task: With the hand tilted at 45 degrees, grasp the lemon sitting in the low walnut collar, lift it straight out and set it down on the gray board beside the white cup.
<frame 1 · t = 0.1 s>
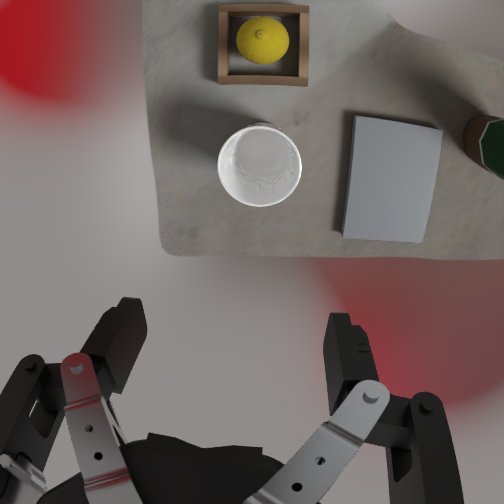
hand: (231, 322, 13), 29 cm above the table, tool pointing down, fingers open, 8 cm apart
beer bottle: (481, 139, 34), on the table
walnut collar: (264, 45, 31), on the table
white cup: (263, 148, 38), on the table
gray board: (391, 180, 38), on the table
lemon: (264, 45, 32), resting in walnut collar
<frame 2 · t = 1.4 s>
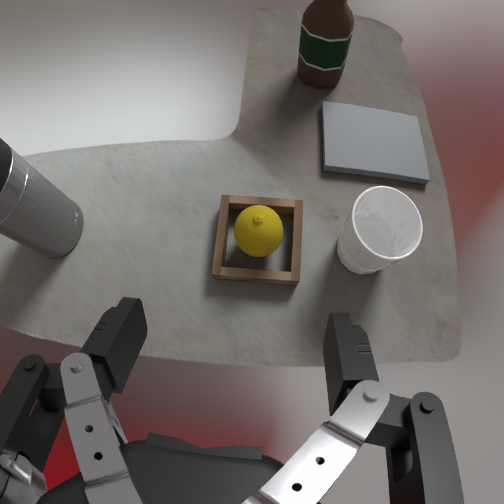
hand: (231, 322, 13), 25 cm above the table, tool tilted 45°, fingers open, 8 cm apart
beer bottle: (319, 75, 48), on the table
walnut collar: (259, 242, 40), on the table
white cup: (361, 249, 39), on the table
gray board: (373, 143, 43), on the table
lemon: (259, 242, 40), resting in walnut collar
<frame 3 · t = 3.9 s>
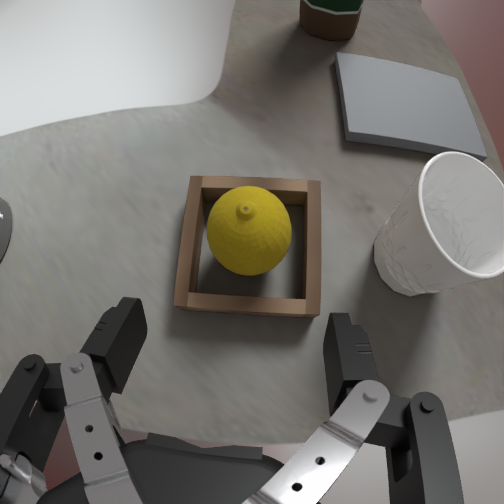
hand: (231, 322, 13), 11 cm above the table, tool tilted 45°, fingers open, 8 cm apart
beer bottle: (327, 27, 33), on the table
walnut collar: (251, 249, 25), on the table
white cup: (408, 257, 24), on the table
gray board: (409, 107, 29), on the table
lemon: (251, 250, 25), resting in walnut collar
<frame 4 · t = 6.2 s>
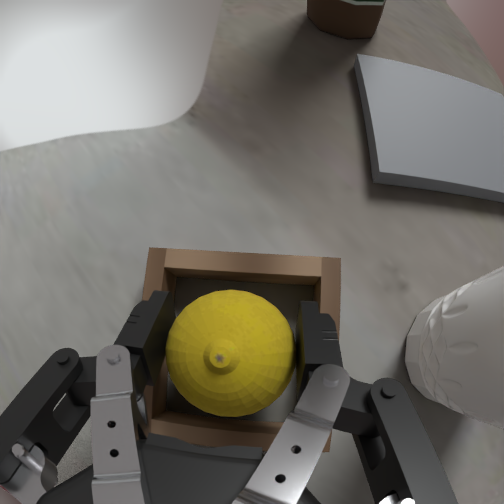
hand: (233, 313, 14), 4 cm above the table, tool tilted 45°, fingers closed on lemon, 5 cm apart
beer bottle: (342, 22, 25), on the table
walnut collar: (239, 351, 17), on the table
white cup: (446, 349, 17), on the table
gray board: (451, 131, 21), on the table
lemon: (239, 351, 17), resting in walnut collar, touching gripper
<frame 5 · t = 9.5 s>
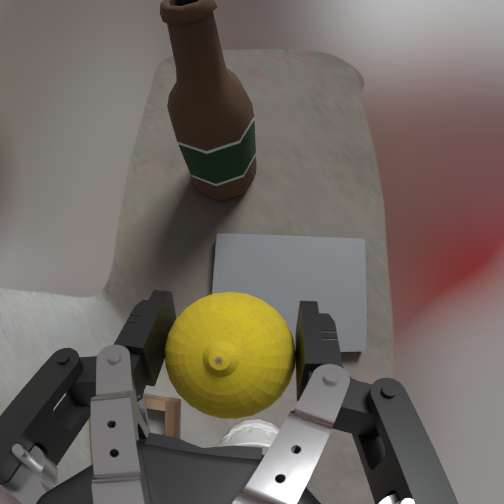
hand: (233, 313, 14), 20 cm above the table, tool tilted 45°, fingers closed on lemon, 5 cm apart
beer bottle: (224, 175, 38), on the table
walnut collar: (137, 433, 30), on the table
white cup: (255, 446, 29), on the table
gray board: (290, 294, 33), on the table
lemon: (238, 352, 17), point 15 cm above the table, touching gripper
when the fingers open (7 cm above the table, at t = 13.0 s): lemon drops 1 cm, resting on gray board.
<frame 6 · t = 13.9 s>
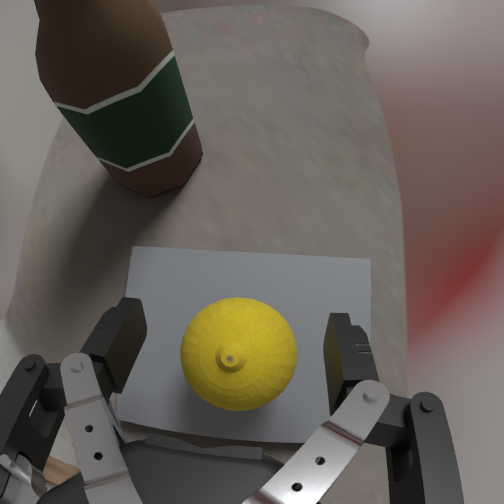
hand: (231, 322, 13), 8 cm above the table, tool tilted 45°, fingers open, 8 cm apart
beer bottle: (159, 159, 25), on the table
walnut collar: (50, 498, 16), on the table
gray board: (243, 347, 20), on the table
lemon: (245, 352, 19), point 1 cm above the table, touching gray board
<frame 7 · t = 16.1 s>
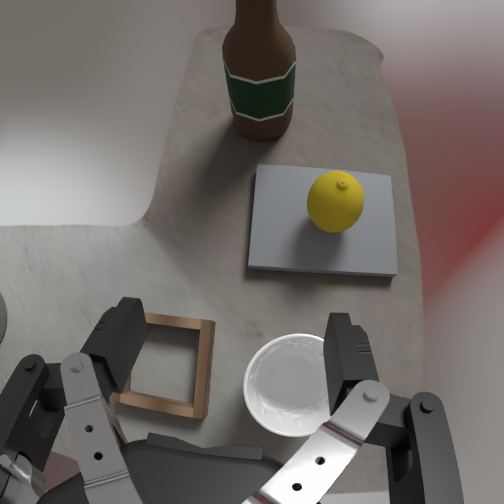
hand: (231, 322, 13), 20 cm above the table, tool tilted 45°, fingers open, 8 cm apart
beer bottle: (262, 121, 40), on the table
walnut collar: (165, 362, 32), on the table
white cup: (289, 374, 31), on the table
gray board: (324, 221, 35), on the table
lemon: (328, 219, 34), point 1 cm above the table, touching gray board
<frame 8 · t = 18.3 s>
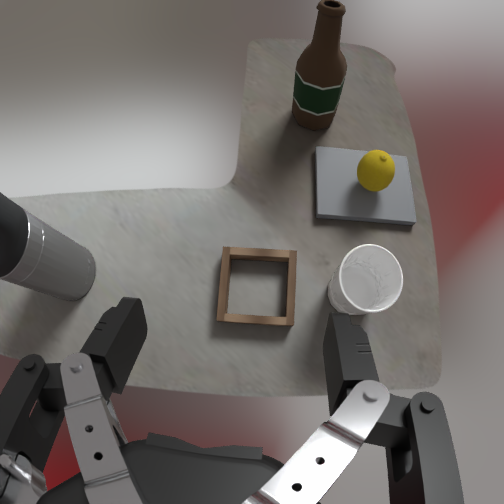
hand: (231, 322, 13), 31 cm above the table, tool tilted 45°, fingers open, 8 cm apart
beer bottle: (313, 116, 53), on the table
walnut collar: (257, 288, 44), on the table
white cup: (349, 292, 44), on the table
gray board: (364, 186, 48), on the table
lemon: (368, 184, 47), point 1 cm above the table, touching gray board
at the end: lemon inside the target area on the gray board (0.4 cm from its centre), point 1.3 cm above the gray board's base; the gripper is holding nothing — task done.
